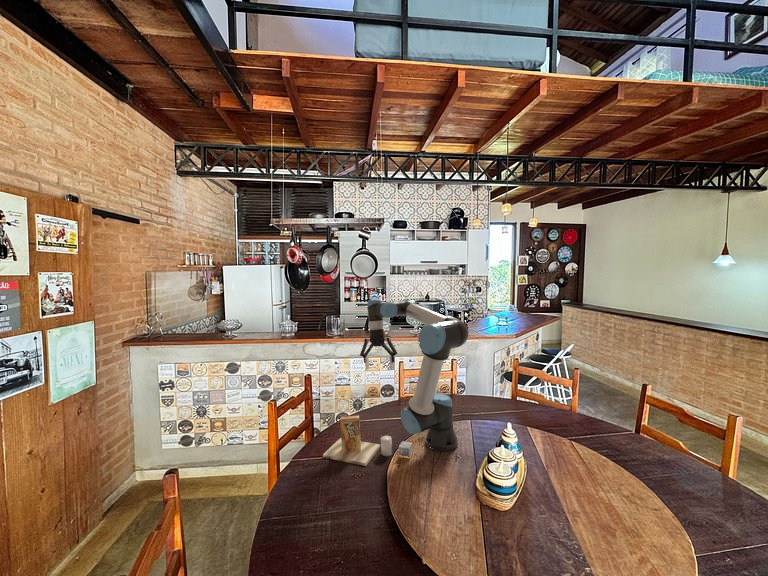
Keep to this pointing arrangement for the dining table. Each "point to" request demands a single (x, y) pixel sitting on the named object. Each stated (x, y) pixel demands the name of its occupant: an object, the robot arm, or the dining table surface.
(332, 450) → the birch board
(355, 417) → the candy box
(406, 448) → the metal block
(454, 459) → the dining table surface
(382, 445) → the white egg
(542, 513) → the dining table surface
